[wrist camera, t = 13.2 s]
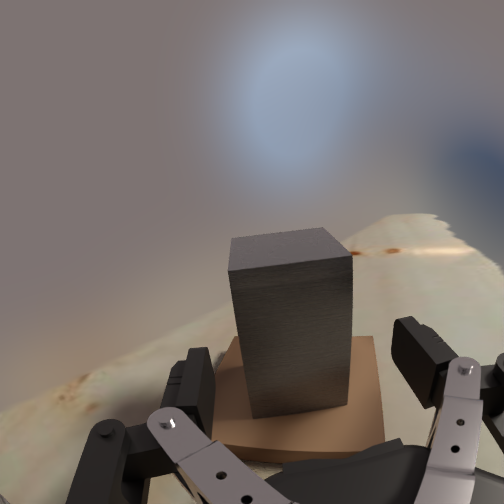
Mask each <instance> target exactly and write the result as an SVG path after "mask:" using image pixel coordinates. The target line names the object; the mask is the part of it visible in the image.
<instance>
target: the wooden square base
mask: <svg viewBox="0 0 504 504" xmlns="http://www.w3.org/2000/svg"><path fill="white" fill-rule="evenodd" d="M214 376H215V383H216V392H215V403H214V415H213V427H212V439H211V441H212V442H214V441H216V440H217V441H219V442H221V443H222V444H223V445H224V446H225V447H226V448H227V449H229V450H230V451H231V452H232V453H233V454H234V455H235V456H236V457H237V458H238V459H242V460H250V461H259V462H270V463H288V462H295V461H301V460H308V459H344V458H348V457H350V456H352V455H354V454H357V453H359V452H361V451H363V450H365V449H367V448H369V447H371V446H373V445H377V444H380V443H384V442H385V433H384V421H383V411H382V401H381V392H380V384H379V376H378V368H377V361H376V354H375V347H374V341H373V336H357V337H352V342H351V362H350V378H349V391H348V403H347V405H345V406H340V407H335V408H329V409H324V410H318V411H312V412H306V413H300V414H293V415H286V416H278V417H270V418H261V419H253V418H252V412H251V407H250V401H249V396H248V390H247V384H246V379H245V373H244V367H243V361H242V356H241V350H240V344H239V338H238V336H235V337H234V339H233V341H232V342H231V344H230V346H229V348H228V350H227V352H226V354H225V356H224V358H223V360H222V361H221V363H220V365H219V367H218V369H217V371H216V373H215V375H214Z"/></svg>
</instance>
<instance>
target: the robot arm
mask: <svg viewBox="0 0 504 504" xmlns="http://www.w3.org/2000/svg"><path fill="white" fill-rule="evenodd" d="M391 355H392V359H393V361H394V363H395V365H396V366H397V368H398V369H399V371H400V372H401V374H402V375H403V377H404V378H405V380H406V381H407V383H408V384H409V386H410V387H411V389H412V390H413V392H414V393H415V395H416V397H417V398H418V400H419V401H420V403H421V404H422V406H423V408H424V409H427V408H430V407H433V406H435V408H436V411H435V414H434V418H433V421H432V425H431V429H430V432H429V436H428V439H427V443H426V446H425V447H424V446H418V445H403V443H402V441H401V439H400V438H397V439H394V440H391V441H387V442H384V443H380V444H377V445H373V446H371V447H369V448H367V449H365V450H363V451H361V452H359V453H357V454H354V455H352V456H350V457H348V458H344V459H308V460H301V461H295V462H288V463H282V466H283V471H282V472H279V473H277V474H274V475H272V476H270V477H268V478H267V479H265V480H263V479H262V478H260V477H259V476H258V475H257V474H256V473H255V472H253V471H252V470H251V469H250V468H249V467H248V466H246V465H245V464H244V463H243V462H242V461H241V460H240V459H238V458H237V457H236V456H235V455H234V454H233V453H232V452H231V451H230V450H229V449H227V448H226V447H225V446H224V445H223V444H222V443H221V442H219V441H217V440H216V441H214V442H212V441H211V439H212V427H213V415H214V403H215V392H216V383H215V376H214V372H213V367H212V363H211V359H210V355H209V351H208V348H207V347H200V348H190V349H189V351H188V355H187V359H186V360H183V361H178V362H177V363H176V364H175V365H174V366H173V367H172V368H171V371H170V375H169V379H168V382H167V385H166V389H165V392H164V396H163V399H162V403H161V407H160V409H158V410H156V411H155V412H153V413H152V414H151V415H150V416H149V418H148V420H147V423H144V424H141V425H136V426H132V427H127V428H125V426H124V424H123V423H122V422H120V421H118V420H115V419H107V420H103V421H101V422H99V423H97V424H96V425H95V426H94V427H93V428H92V429H91V431H90V434H89V436H88V439H87V442H86V444H85V447H84V450H83V453H82V456H81V458H80V461H79V464H78V467H77V470H76V473H75V476H74V479H73V482H72V485H71V488H70V491H69V494H68V497H67V501H66V504H147V501H148V493H149V486H150V479H151V478H152V477H157V476H162V475H166V474H170V473H172V474H173V475H174V476H175V477H176V479H177V480H178V481H179V482H180V484H181V485H182V486H183V487H184V489H185V490H186V491H187V492H188V493H189V495H190V496H191V497H192V498H193V499H194V501H195V502H196V503H197V504H504V478H503V477H500V476H498V475H495V474H492V473H489V472H487V471H484V470H481V469H479V468H476V467H475V464H476V458H477V452H478V445H479V438H480V430H481V422H482V420H483V422H484V423H485V425H486V426H487V428H488V429H489V431H490V433H491V434H492V436H493V437H494V439H495V440H496V442H497V444H498V445H499V447H500V449H501V450H502V452H503V453H504V353H502V354H500V355H499V356H498V357H497V360H496V363H495V365H487V366H480V364H479V363H478V362H477V361H476V360H474V359H472V358H469V357H459V356H458V355H457V354H456V353H455V352H454V351H453V350H452V349H451V348H450V347H449V346H448V345H447V343H446V342H444V341H443V339H442V338H441V337H439V335H438V334H437V333H436V332H435V331H434V330H433V329H432V328H430V327H428V326H426V325H424V324H422V325H420V324H419V323H418V322H417V321H416V319H415V318H414V317H412V316H409V317H404V318H400V319H396V320H395V322H394V328H393V337H392V346H391Z"/></svg>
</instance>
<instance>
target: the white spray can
mask: <svg viewBox="0 0 504 504" xmlns="http://www.w3.org/2000/svg"><path fill="white" fill-rule="evenodd" d="M0 504H10V503H9V502H8V501H7V500H6V499H5V498H4V497H3V496H2V495H1V494H0Z"/></svg>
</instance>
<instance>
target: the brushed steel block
mask: <svg viewBox="0 0 504 504" xmlns="http://www.w3.org/2000/svg"><path fill="white" fill-rule="evenodd" d="M228 275H229V281H230V288H231V294H232V301H233V307H234V313H235V319H236V326H237V332H238V338H239V344H240V350H241V356H242V361H243V367H244V373H245V379H246V384H247V390H248V396H249V401H250V407H251V412H252V418H253V419H261V418H270V417H278V416H286V415H293V414H300V413H306V412H312V411H318V410H324V409H329V408H335V407H340V406H345V405H347V403H348V391H349V378H350V362H351V342H352V309H353V258H352V254H351V253H350V252H349V251H348V250H347V249H345V248H344V247H343V246H342V245H341V244H340V243H339V242H338V241H337V240H336V239H335V238H334V237H333V236H332V235H331V234H330V233H328V232H327V231H326V230H325V229H324V228H323V227H322V228H313V229H305V230H296V231H288V232H279V233H271V234H263V235H255V236H246V237H239V238H232V239H231V248H230V257H229V266H228Z"/></svg>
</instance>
